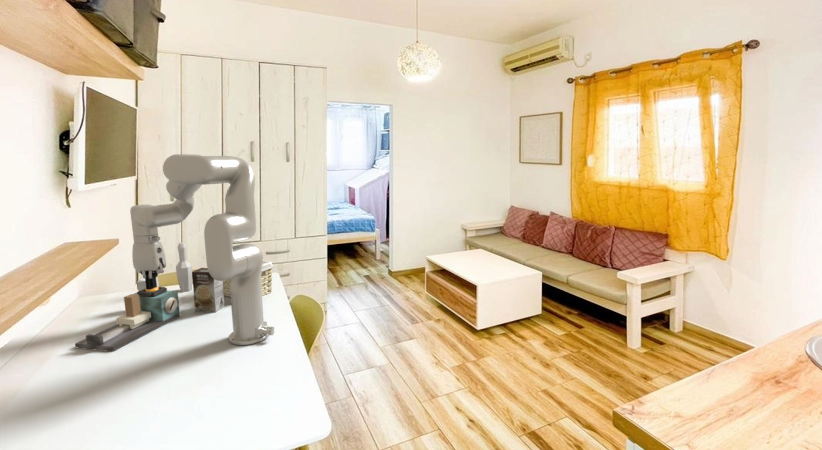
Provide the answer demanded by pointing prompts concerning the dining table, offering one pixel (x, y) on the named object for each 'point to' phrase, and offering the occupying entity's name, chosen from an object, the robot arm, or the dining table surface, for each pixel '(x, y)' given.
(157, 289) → the orange rounded knob
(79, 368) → the dining table surface
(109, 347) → the rail board
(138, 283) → the skincare box
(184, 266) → the faceted bottle
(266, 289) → the storage basket
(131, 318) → the carriage
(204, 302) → the coffee box
